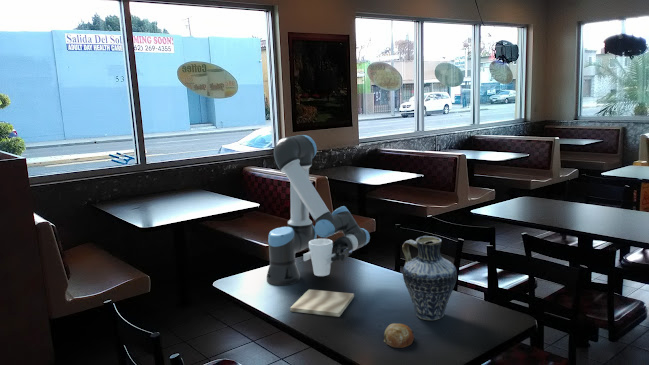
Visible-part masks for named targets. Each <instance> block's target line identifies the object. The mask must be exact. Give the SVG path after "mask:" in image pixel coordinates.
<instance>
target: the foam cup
mask: <svg viewBox="0 0 649 365" xmlns="http://www.w3.org/2000/svg"><path fill="white" fill-rule="evenodd" d="M333 243H334V242H333V240H332V239H330V238H316V239H314V240H310V241H309V248H308V250H309V249H310V254H311V259H310V260H311V264H312V271H313V274H314V276H317V277H325V276H329V275H330V273H331V266H332V263H330V264H328V265H325V258H326V257H328V256H330V255H332V254H333V253H332V248H333Z"/></svg>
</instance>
